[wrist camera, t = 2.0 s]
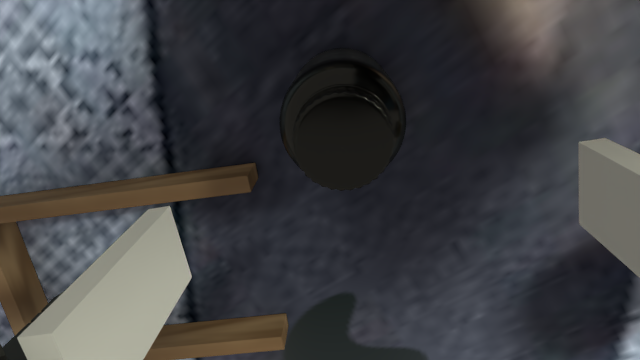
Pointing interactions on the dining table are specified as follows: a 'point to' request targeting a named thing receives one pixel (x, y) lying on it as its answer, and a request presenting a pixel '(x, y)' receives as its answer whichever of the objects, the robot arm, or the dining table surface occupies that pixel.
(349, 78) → the supplement bottle
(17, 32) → the dining table surface
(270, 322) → the bay
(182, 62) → the dining table surface
